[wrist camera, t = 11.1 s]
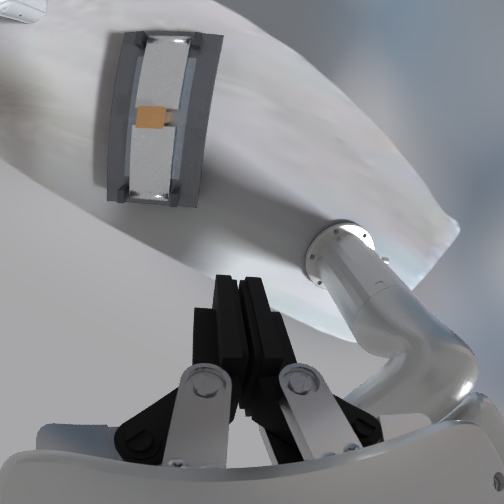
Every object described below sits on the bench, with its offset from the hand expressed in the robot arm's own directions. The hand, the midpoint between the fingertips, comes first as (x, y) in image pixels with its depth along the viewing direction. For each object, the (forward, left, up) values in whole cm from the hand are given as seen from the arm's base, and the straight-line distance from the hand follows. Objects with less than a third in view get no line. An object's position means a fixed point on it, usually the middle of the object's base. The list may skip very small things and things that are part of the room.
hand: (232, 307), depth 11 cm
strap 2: (+8, 0, -24) cm, 26 cm away
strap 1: (+8, -12, -25) cm, 28 cm away
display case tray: (+8, -6, -29) cm, 31 cm away
